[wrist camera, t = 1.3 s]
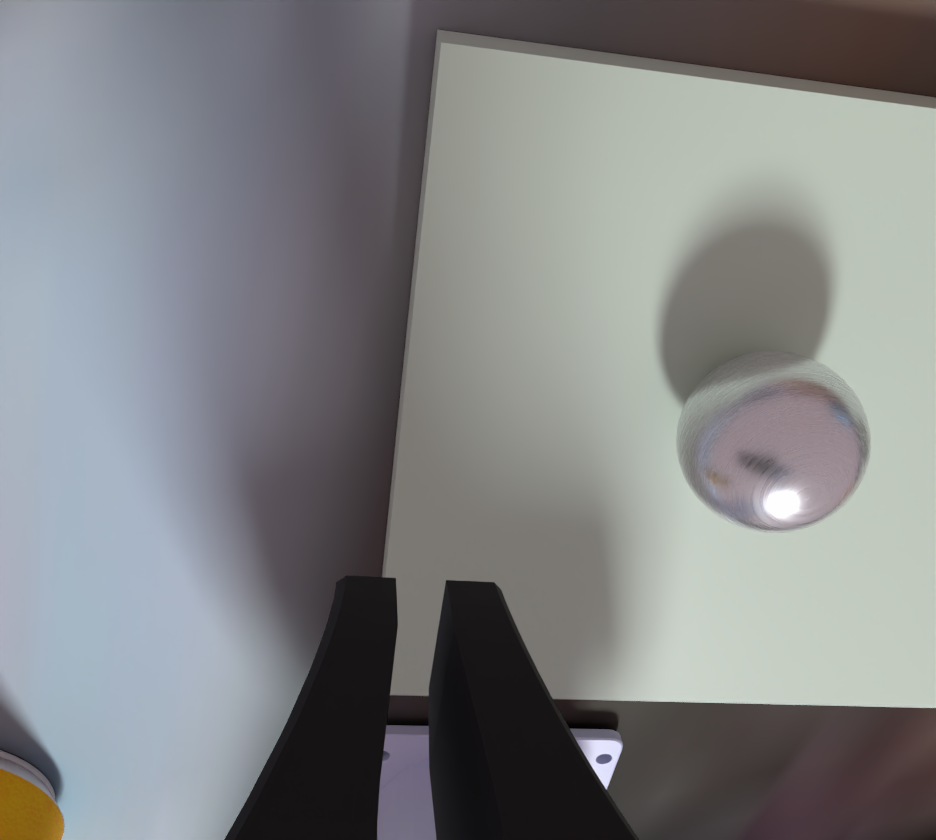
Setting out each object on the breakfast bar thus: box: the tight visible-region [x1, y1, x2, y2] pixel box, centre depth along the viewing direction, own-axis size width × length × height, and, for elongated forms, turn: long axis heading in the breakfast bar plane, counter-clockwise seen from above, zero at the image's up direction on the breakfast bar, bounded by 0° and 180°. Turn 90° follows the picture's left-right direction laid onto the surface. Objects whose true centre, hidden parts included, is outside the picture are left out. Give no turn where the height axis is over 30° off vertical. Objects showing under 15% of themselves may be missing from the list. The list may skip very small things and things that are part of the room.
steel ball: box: [676, 351, 871, 533], centre depth 15 cm, size 4×4×4 cm
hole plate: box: [382, 30, 936, 708], centre depth 19 cm, size 16×24×2 cm, turn 82°
